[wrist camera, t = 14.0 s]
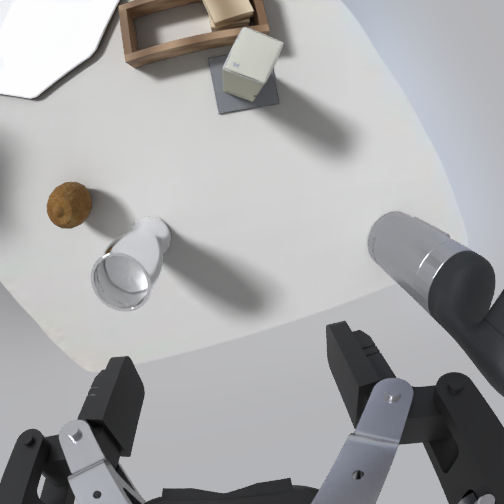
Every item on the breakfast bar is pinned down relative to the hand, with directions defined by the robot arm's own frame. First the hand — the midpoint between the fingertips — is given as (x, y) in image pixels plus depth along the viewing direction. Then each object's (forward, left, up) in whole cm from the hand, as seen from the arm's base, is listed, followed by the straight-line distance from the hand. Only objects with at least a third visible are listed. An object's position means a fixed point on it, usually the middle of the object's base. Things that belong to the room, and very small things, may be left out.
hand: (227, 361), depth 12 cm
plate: (+23, -37, -33) cm, 55 cm away
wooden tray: (0, -25, -33) cm, 41 cm away
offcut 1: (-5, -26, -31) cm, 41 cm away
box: (-6, -15, -33) cm, 37 cm away
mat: (-5, -15, -33) cm, 37 cm away
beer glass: (+12, +3, -33) cm, 35 cm away
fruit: (+21, -5, -33) cm, 39 cm away
